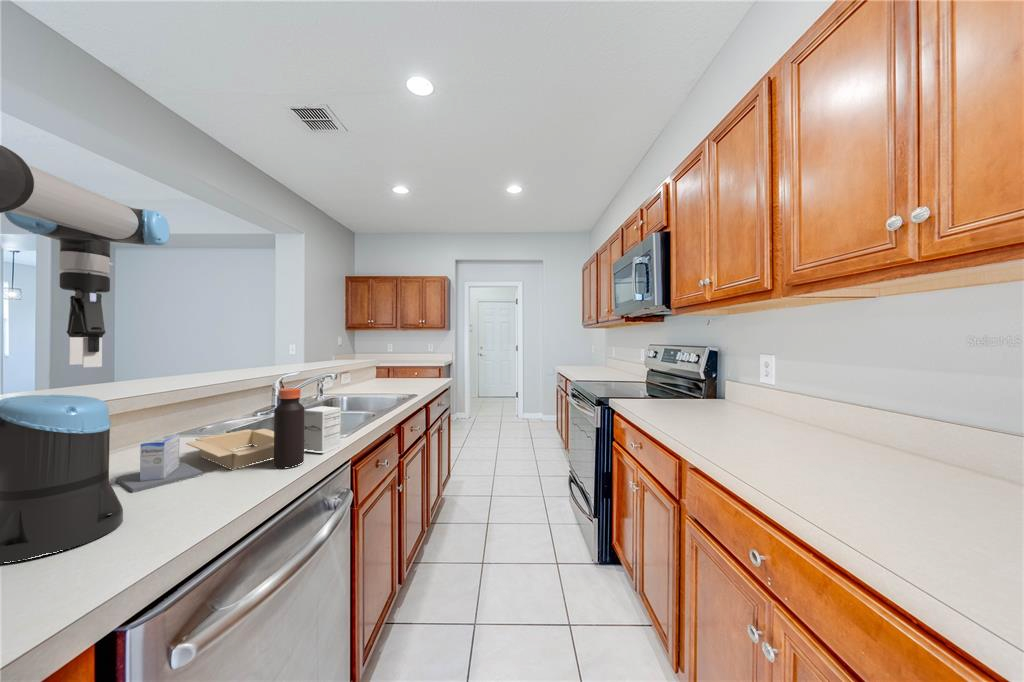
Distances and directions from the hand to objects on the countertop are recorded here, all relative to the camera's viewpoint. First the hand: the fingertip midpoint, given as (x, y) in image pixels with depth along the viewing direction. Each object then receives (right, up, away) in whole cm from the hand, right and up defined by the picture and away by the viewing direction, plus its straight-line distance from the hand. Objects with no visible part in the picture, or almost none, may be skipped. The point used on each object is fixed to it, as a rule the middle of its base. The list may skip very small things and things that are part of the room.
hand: (84, 365), depth 83 cm
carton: (+23, -27, +19) cm, 40 cm away
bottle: (+40, -27, +12) cm, 50 cm away
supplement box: (+42, -27, +25) cm, 56 cm away
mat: (+15, -27, +2) cm, 31 cm away
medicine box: (+15, -26, +2) cm, 30 cm away
